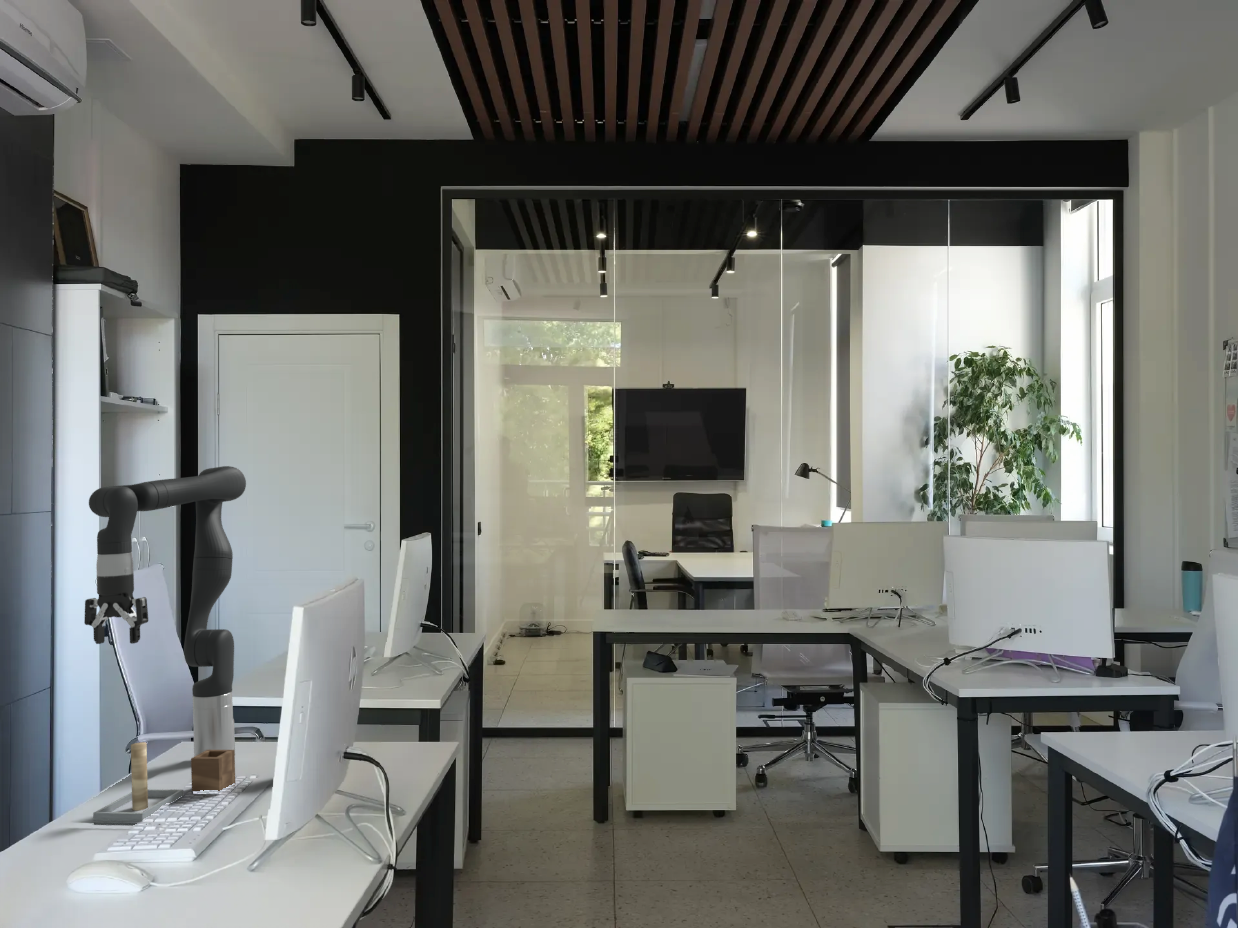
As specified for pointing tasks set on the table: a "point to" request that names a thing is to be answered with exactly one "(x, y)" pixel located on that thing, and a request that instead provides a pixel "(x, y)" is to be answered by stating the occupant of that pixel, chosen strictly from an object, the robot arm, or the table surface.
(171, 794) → the grey tray
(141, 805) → the birch dowel
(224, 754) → the walnut holder
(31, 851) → the table surface
